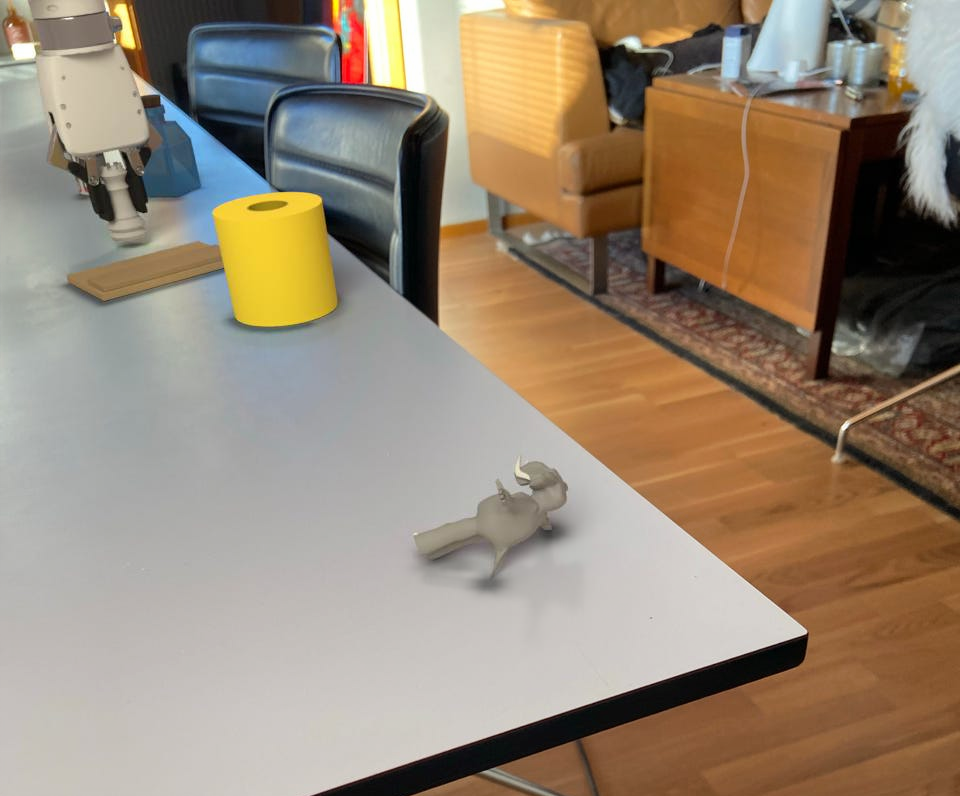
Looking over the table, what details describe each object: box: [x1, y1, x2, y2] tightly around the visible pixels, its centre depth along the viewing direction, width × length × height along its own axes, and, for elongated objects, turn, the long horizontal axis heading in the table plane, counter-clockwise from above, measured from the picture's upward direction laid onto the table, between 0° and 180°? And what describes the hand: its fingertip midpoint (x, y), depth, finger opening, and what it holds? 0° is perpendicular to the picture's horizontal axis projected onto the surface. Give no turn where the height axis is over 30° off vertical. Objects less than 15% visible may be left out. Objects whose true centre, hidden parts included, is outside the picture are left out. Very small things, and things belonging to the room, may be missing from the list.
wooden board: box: [66, 240, 224, 302], centre depth 111 cm, size 16×10×1 cm, turn 129°
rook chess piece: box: [99, 161, 148, 243], centre depth 118 cm, size 4×4×8 cm
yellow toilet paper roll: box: [211, 191, 339, 328], centre depth 96 cm, size 10×10×9 cm
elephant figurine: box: [412, 454, 569, 580], centre depth 58 cm, size 10×6×9 cm
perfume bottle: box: [136, 93, 202, 198], centre depth 140 cm, size 6×6×12 cm
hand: (123, 213), depth 119 cm, fingers closed on rook chess piece, 3 cm apart
